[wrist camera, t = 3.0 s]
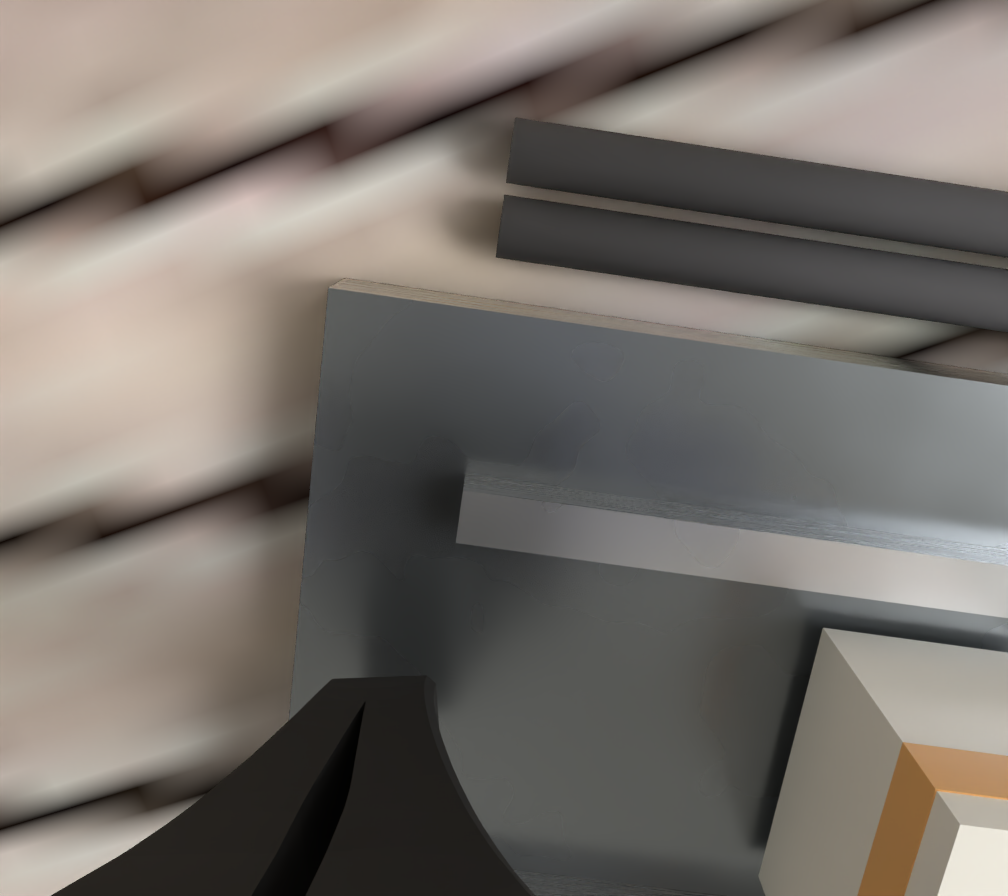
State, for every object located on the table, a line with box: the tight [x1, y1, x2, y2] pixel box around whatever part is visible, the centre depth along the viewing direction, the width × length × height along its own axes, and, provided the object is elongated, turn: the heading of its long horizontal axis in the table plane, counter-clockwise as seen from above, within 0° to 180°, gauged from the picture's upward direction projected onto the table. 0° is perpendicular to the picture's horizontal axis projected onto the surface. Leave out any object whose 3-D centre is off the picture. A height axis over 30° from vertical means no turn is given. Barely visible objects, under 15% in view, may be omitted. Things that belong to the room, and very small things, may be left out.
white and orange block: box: [759, 628, 1008, 896], centre depth 11 cm, size 3×4×4 cm
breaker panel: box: [289, 278, 1008, 896], centre depth 14 cm, size 17×11×2 cm, turn 82°
